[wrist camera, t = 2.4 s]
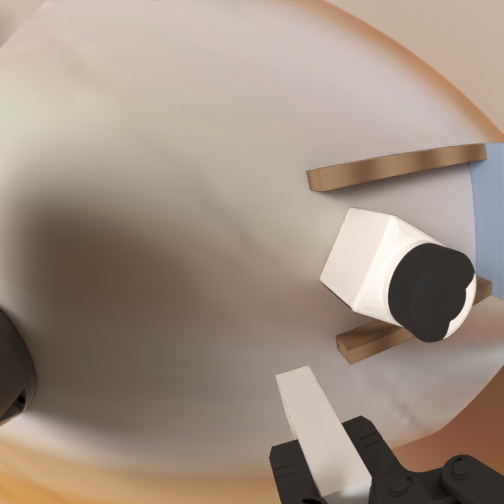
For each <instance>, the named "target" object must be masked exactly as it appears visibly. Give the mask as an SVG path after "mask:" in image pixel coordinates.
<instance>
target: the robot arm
mask: <svg viewBox="0 0 504 504" xmlns="http://www.w3.org/2000/svg"><path fill="white" fill-rule="evenodd" d="M275 376H276V380H277V383H278V387H279V391H280V395H281V398H282V402H283V406H284V410H285V413H286V417H287V420H288V422H289V425H290V428H291V431H292V433H293V436H294V439H295V440H293V441H290V442H287V443H283V444H280V445H276V446H273V447H272V449H271V453H270V457H269V459H270V463H271V467H272V470H273V474H274V478H275V482H276V485H277V489H278V493H279V496H280V500H281V503H282V504H504V476H503V475H501V474H500V473H498V472H496V471H495V470H493V469H491V468H490V467H488V466H487V465H485V464H483V463H481V462H480V461H479V460H477V459H475V458H474V457H472V456H469V455H457V456H455V457H452V458H451V459H449V460H448V461H447V462H446V463H445V465H444V466H443V467H441V468H438V469H434V470H431V471H426V472H420V473H419V472H412V471H408V470H407V469H405V468H404V467H403V466H402V465H401V464H400V463H399V461H398V460H397V458H396V457H395V455H394V454H393V453H392V451H391V449H390V448H389V447H388V445H387V444H386V442H385V441H384V440H383V438H382V436H381V435H380V433H378V431H377V429H376V428H375V426H374V425H373V423H372V422H371V421H369V420H368V419H366V418H364V417H363V416H359V417H356V418H354V419H351V420H349V421H346V422H344V423H341V422H340V421H339V419H338V417H337V415H336V414H335V412H334V410H333V408H332V407H331V405H330V403H329V401H328V399H327V398H326V396H325V394H324V392H323V391H322V389H321V387H320V385H319V384H318V382H317V380H316V378H315V376H314V375H313V373H312V371H311V369H310V368H309V366H308V365H307V366H304V367H301V368H298V369H295V370H292V371H288V372H285V373H282V374H278V375H275ZM35 391H36V374H35V369H34V366H33V362H32V360H31V357H30V354H29V352H28V350H27V348H26V346H25V344H24V342H23V340H22V339H21V337H20V335H19V334H18V332H17V331H16V329H15V328H14V326H13V325H12V324H11V322H10V321H9V320H8V319H7V317H6V316H5V315H4V314H3V313H2V312H1V311H0V426H2V425H4V424H5V423H7V422H9V421H10V420H12V419H13V418H15V417H17V416H18V415H20V414H21V413H22V412H24V411H25V409H26V408H27V406H28V405H29V403H30V402H31V400H32V399H33V397H34V395H35Z"/></svg>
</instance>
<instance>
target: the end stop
mask: <svg viewBox="0 0 504 504" xmlns="http://www.w3.org/2000/svg"><path fill="white" fill-rule="evenodd" d="M477 144H485V146H486V153H487V159H483V160H477V161H471V162H469V164H470V171H471V179H472V188H473V198H474V210H475V226H476V275H477V276H479V277H482V278H484V279H486V280H489V281H491V282H493V283H492V295H494V296H496V297H498V298H500V299H502V300H504V142H503V143H477ZM467 145H469V144H467Z"/></svg>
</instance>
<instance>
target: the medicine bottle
mask: <svg viewBox="0 0 504 504" xmlns="http://www.w3.org/2000/svg"><path fill="white" fill-rule="evenodd" d="M319 280H320V282H321V283H322V284H323V285H324V286H325V287H327V288H328V289H329V290H330V291H331V292H332V293H333V294H335V295H336V296H337V297H338V298H339V299H340V300H341V301H343V302H344V303H345V304H346V305H347V306H348V307H349V308H350V309H352V310H353V311H354V312H357V313H361V314H364V315H367V316H370V317H373V318H376V319H379V320H382V321H385V322H388V323H392V324H395V325H398V326H401V327H404V328H405V329H406V330H408V331H409V332H410V333H412V334H413V335H414V336H416V337H417V338H418V339H420V340H421V341H424V342H436V341H439V340H442V339H445V338H447V337H448V336H450V335H451V334H452V333H454V332H455V331H456V330H457V329H458V328H459V327H460V326H461V324H462V323H463V322H464V320H465V319H466V317H467V315H468V313H469V311H470V309H471V307H472V304H473V301H474V297H475V293H476V275H475V271H474V268H473V265H472V263H471V261H470V259H469V258H468V257H467V256H466V255H465V254H463V253H461V252H459V251H456V250H453V249H450V248H448V247H447V246H445V245H444V244H442V243H440V242H439V241H437V240H436V239H434V238H432V237H431V236H429V235H427V234H426V233H424V232H422V231H421V230H419V229H417V228H416V227H414V226H412V225H411V224H409V223H407V222H405V221H404V220H402V219H400V218H398V217H397V216H394V215H389V214H385V213H380V212H375V211H370V210H365V209H360V208H355V207H351V208H349V209H348V212H347V214H346V217H345V219H344V222H343V224H342V227H341V229H340V232H339V234H338V236H337V239H336V241H335V243H334V246H333V248H332V251H331V253H330V255H329V258H328V260H327V262H326V264H325V267H324V269H323V271H322V273H321V276H320V279H319Z"/></svg>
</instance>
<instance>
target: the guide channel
mask: <svg viewBox="0 0 504 504" xmlns="http://www.w3.org/2000/svg"><path fill="white" fill-rule="evenodd" d="M483 159H487V153H486V146H485V144H469V145H459V146H451V147H443V148H435V149H428V150H421V151H414V152H408V153H401V154H395V155H389V156H383V157H377V158H371V159H366V160H360V161H355V162H349V163H344V164H339V165H334V166H329V167H324V168H319V169H314V170H309V171H306V172H307V177H308V181H309V186H310V190H315V191H327V190H332V189H336V188H340V187H345V186H349V185H354V184H358V183H363V182H368V181H372V180H377V179H382V178H387V177H391V176H396V175H401V174H406V173H411V172H416V171H422V170H427V169H432V168H437V167H443V166H448V165H454V164H459V163H465V162H471V161H477V160H483ZM492 283H493V282H491V281H489V280H486V279H484V278H482V277H479V276H477V275H476V293H475V297H474V301H473V304H472V306H473V305H475V304H477V303H478V302H480V301H482V300H483V299H485V298H487V297H488V296H490V295H492ZM413 337H415V336H414V335H413V334H412V333H410V332H409V331H408V330H406V329H405V328H404V327H401V326H398V325H395V324H392V323H388V322H385V321H382V320H377V321H374V322H372V323H369V324H367V325H364V326H362V327H359V328H356V329H354V330H351V331H348V332H346V333H343V334H340V335H337V336H336V341H337V348H338V350H339V352H340V353H341V354H342V355H343V357H344V358H345V359H346V360H347V362H348V363H349V364H353V363H355V362H358V361H360V360H363V359H365V358H368V357H370V356H373V355H375V354H377V353H380V352H382V351H384V350H386V349H389V348H391V347H393V346H395V345H398V344H400V343H402V342H404V341H406V340H408V339H411V338H413Z"/></svg>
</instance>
